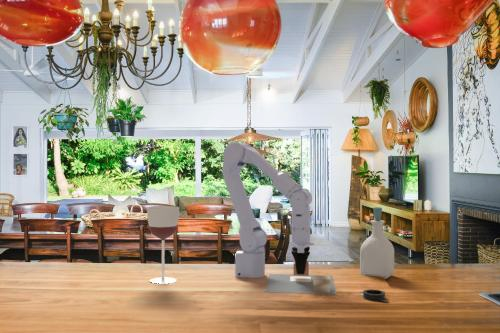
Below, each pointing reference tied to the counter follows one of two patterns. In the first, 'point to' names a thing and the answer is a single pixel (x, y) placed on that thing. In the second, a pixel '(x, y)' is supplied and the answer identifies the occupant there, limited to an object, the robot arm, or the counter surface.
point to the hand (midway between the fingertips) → (300, 271)
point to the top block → (321, 283)
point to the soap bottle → (377, 251)
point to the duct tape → (374, 295)
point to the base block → (305, 270)
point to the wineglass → (163, 231)
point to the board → (294, 284)
